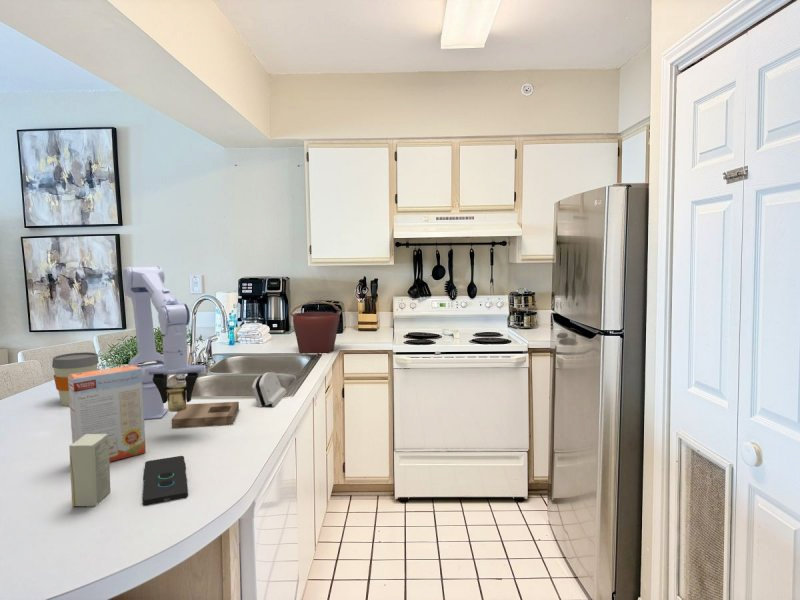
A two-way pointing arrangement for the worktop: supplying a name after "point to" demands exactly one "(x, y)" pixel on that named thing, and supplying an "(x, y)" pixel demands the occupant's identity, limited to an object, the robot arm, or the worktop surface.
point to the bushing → (176, 397)
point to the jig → (206, 414)
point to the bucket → (316, 329)
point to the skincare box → (89, 469)
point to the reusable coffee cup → (71, 370)
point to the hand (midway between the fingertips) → (177, 401)
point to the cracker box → (109, 408)
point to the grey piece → (268, 389)
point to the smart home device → (164, 480)
